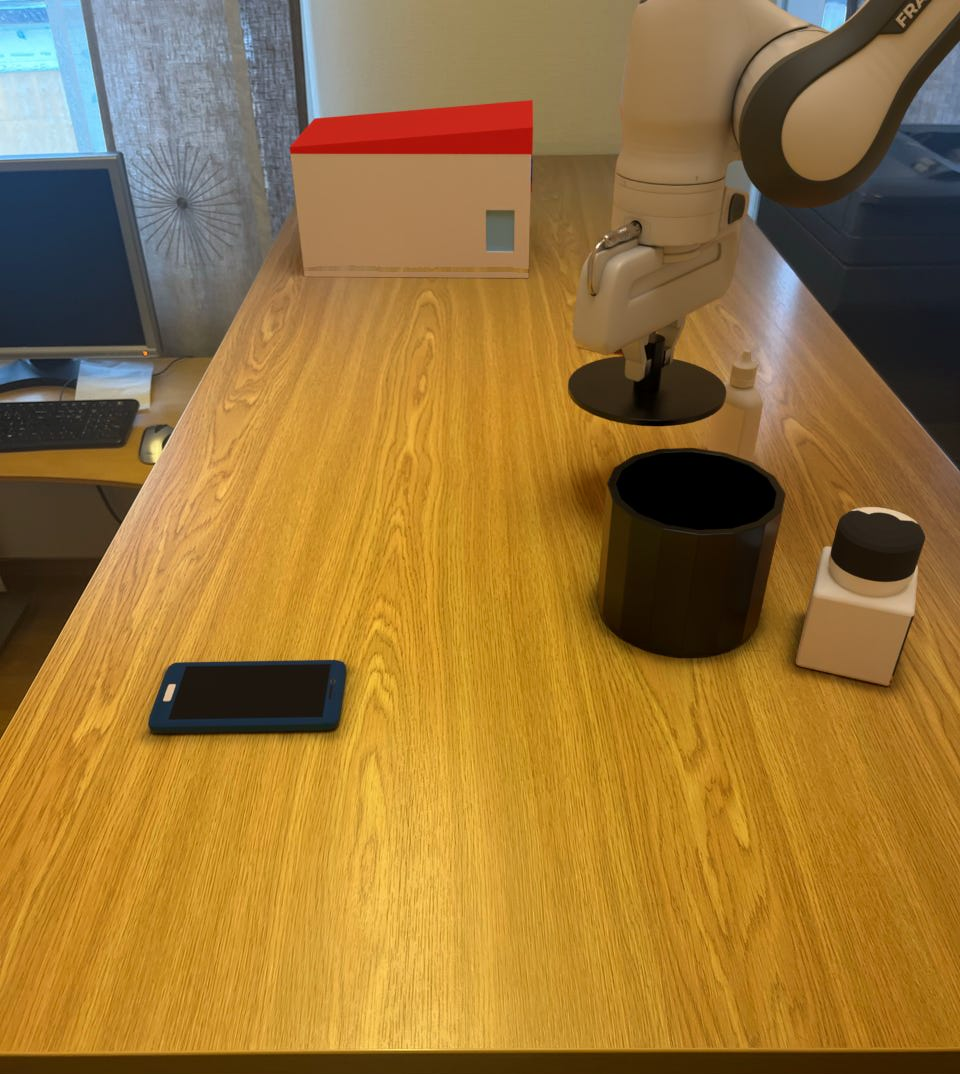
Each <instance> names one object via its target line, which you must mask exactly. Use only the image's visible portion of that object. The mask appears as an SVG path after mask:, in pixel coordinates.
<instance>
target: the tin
mask: <svg viewBox="0 0 960 1074" xmlns="http://www.w3.org/2000/svg"><path fill="white" fill-rule="evenodd" d="M605 487H606V488H605V498H604V500H605V501H604V511H603V520H602V521H603V523H602V533H601V534H602V536H601V545H600V557H599V569H598V570H599V571H598V582H597V593H596V594H597V595H596V598H597V599H596V600H597V606H598V607H597V608H598V612H599V614H600V617H601V619H602V620H603V622H604V624H605V625H606V626H607V627H608V629H610V631H612V632H613V633H614V634H615V635H616V636H617V637H619V638H620V639H622V640H623V641H625V642H627V643H629V644H630V645H632V646H634V647H636V648H639V649H641V650H644V651H647V652H649V653H653V654H658V655H662V656H667V657H672V658H685V659H686V658H693V659H694V658H696V659H697V658H706V657H707V658H708V657H712V656H713V657H714V656H719V655H722V654H726V653H729V652H730V651H732V650H735V649H738V648H739V647H740V646H743V645H744V644H745V643H746V642H748V641H749V640H750V638H751V637H752V636H753V635H754V634H755V632H756V631H757V628H758V627H759V624H760V623H759V622H760V618H761V614H762V609H763V604H764V600H765V596H766V591H767V586H768V581H769V576H770V572H771V567H772V563H773V557H774V553H775V548H776V544H777V540H778V534H779V529H780V526H781V520H782V516H783V511H784V506H785V500H786V492H785V490H784V489H783V487H782V485H781V484H780V482H779V481H778V478H776V476H775V475H774V474H772V473H770V472H769V471H767V470H766V469H764V468H763V467H761V466H760V465H758V464H756V463H755V462H754V461H753V462H751V461H748V460H745V459H742V458H739V457H736V456H733V455H730V454H727V453H724V452H718V451H711V450H707V449H702V448H696V447H675V448H674V447H673V448H658V449H654V450H650V451H646V452H642V453H638V454H634V455H632V456H630V457H629V458H627V459H626V460H624V461H622V462H620V463H619V464H618V465H616V466H614V467H613V469H612V471H611V473H610V475H609V477H608V479H607V482H606V486H605Z"/></svg>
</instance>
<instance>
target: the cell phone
mask: <svg viewBox="0 0 960 1074" xmlns="http://www.w3.org/2000/svg"><path fill="white" fill-rule="evenodd" d="M346 680H347V666H346V663H345V662H344V661H342V660H339V659H302V660H301V659H298V660H296V659H295V660H293V659H292V660H243V661H242V660H239V661H237V660H236V661H235V660H233V661H182V662H181V661H180V662H179V661H178V662H172V663H171V664H170V665H168V667H167V669H166V671H165V672H164V674H163V678H162V680H161V683H160V685H159V688H158V691H157V694H156V696H155V700H154V701H153V705H152V708H151V710H150V713H149V716H148V723H147V725H148V728H149V730H150V732H151V733H154V734H187V733H188V734H192V733H193V734H196V733H197V734H198V733H200V734H201V733H202V734H203V733H205V734H206V733H258V732H259V733H260V732H263V733H264V732H313V731H316V732H319V731H331V730H333V729H335V728H337V727H338V725H339V722H340V721H341V716H342V711H343V710H342V708H343V702H344V693H345V687H346Z"/></svg>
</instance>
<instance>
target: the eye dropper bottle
mask: <svg viewBox="0 0 960 1074" xmlns="http://www.w3.org/2000/svg"><path fill="white" fill-rule="evenodd" d="M757 370H758V364H757V363H756V362H755V361H753V360H752V350H751V349H749V348H745V349H743V352H742V354H741V357H740V359H736V360H734V361H733V362H732V364H731V370H730V376H729V380H728V381H724V382H723V383H724V385H725V387H726V398H725V403H724V405H723V406H722V408H721V409H720V410H719V411H717V412H716V413H715V414H713V415H711V419H710V426H709V433H708V440H707V446H706V450H711V451H718V452H724V453H727V454H730V455H733V456H736V457H739V458H742V459H745V460H748V461H751V462H753V463H754V456H755V451H756V446H757V441H758V435H759V431H760V426H761V418H762V413H763V406H764V404H763V399H762V396H761V394H760V393H759V391H758V389H757V388H756V387H755V386H754V385H755V382H756V376H757Z"/></svg>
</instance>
